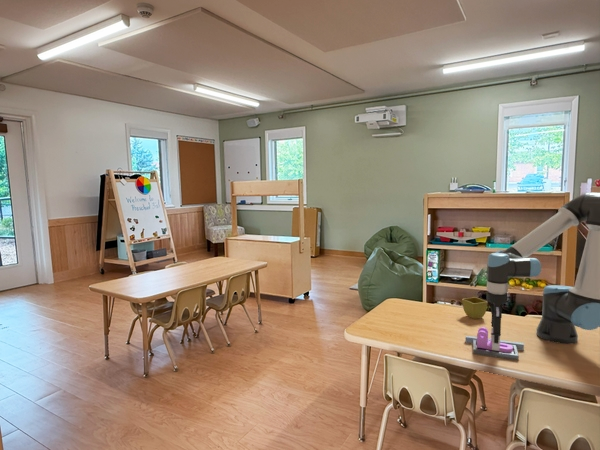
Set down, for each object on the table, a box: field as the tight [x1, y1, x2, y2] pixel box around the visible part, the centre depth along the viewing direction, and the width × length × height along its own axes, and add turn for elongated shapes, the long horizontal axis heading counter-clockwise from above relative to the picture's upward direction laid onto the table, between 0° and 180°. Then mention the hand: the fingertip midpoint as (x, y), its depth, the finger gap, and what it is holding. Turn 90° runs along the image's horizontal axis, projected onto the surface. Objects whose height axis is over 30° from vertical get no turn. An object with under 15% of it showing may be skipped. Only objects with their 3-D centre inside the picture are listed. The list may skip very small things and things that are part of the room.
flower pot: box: [461, 296, 489, 320], centre depth 194 cm, size 9×9×9 cm
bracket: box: [476, 326, 513, 352], centre depth 156 cm, size 13×6×7 cm, turn 60°
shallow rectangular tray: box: [472, 340, 520, 362], centre depth 156 cm, size 16×10×2 cm, turn 67°
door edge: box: [465, 335, 525, 351], centre depth 162 cm, size 22×2×2 cm, turn 66°
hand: (495, 346), depth 156 cm, fingers closed on bracket, 6 cm apart
